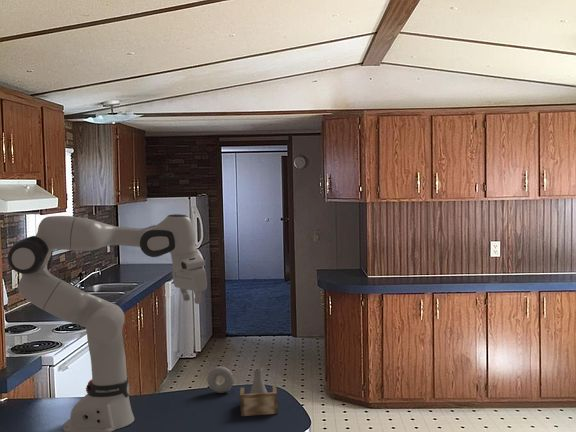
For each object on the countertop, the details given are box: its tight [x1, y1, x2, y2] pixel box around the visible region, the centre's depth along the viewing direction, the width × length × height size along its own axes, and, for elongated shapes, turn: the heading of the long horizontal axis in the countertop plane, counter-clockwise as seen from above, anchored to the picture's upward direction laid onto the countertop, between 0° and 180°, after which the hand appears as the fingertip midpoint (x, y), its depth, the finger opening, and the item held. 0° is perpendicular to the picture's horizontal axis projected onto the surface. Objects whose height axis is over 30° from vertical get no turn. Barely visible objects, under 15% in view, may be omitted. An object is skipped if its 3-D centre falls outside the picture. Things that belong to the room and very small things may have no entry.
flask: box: [249, 368, 268, 394], centre depth 227 cm, size 7×7×10 cm
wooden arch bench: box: [239, 384, 279, 417], centre depth 215 cm, size 12×11×7 cm
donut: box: [206, 365, 235, 394], centre depth 233 cm, size 10×4×10 cm, turn 85°
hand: (192, 301), depth 211 cm, fingers open, 8 cm apart
